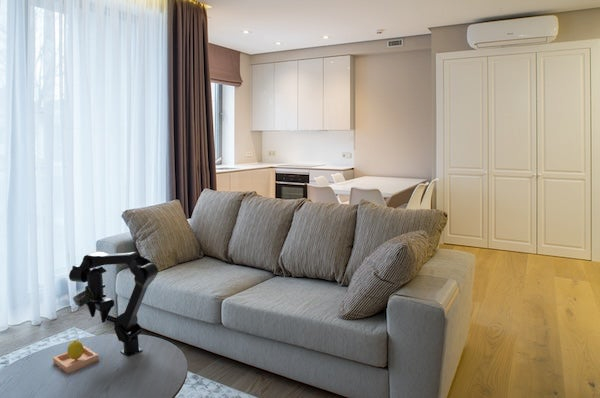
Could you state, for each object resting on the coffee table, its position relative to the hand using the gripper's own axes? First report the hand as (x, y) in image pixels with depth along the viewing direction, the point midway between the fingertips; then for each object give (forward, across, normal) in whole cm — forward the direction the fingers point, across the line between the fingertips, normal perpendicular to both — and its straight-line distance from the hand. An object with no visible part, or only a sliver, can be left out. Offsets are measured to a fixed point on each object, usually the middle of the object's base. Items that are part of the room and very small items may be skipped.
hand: (98, 319), depth 181 cm
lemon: (+11, +5, -12) cm, 17 cm away
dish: (+12, +5, -12) cm, 18 cm away
